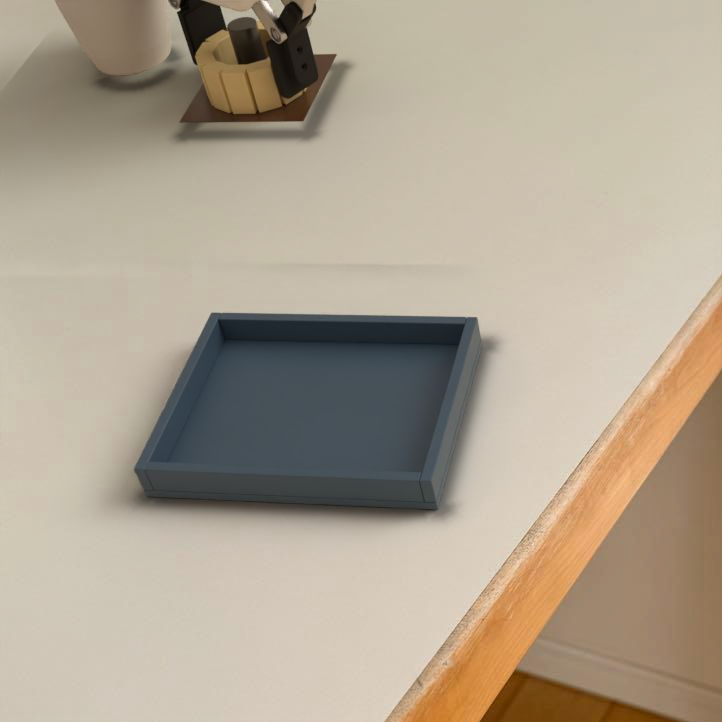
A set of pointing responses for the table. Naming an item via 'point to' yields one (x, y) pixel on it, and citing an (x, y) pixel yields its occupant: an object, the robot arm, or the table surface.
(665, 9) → the table surface
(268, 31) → the robot arm
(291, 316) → the tray
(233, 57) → the bracelet
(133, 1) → the cup
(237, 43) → the peg stand
